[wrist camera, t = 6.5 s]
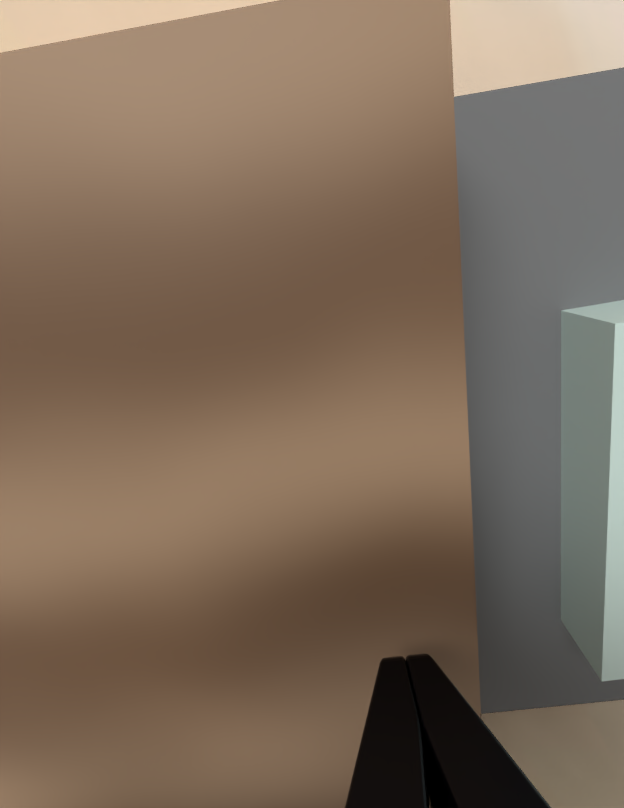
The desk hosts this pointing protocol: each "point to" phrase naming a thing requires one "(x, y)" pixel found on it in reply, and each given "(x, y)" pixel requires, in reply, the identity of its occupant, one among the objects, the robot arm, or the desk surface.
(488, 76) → the desk surface
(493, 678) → the mat
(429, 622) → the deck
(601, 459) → the block
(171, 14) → the desk surface
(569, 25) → the desk surface
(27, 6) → the desk surface
